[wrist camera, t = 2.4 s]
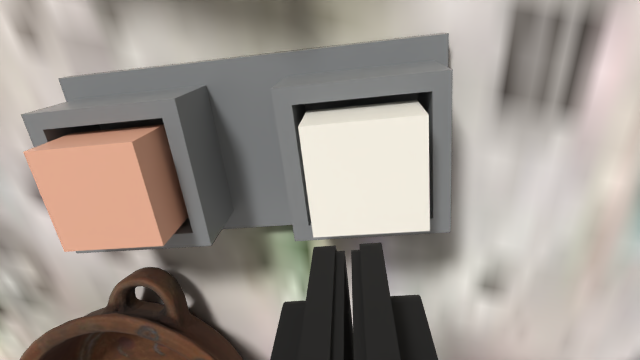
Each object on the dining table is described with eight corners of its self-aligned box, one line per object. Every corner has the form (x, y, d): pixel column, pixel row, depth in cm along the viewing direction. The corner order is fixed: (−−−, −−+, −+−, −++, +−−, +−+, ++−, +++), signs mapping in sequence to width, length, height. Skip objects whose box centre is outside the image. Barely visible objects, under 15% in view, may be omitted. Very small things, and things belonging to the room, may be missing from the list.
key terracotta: (164, 124, 19) (132, 142, 16) (189, 216, 21) (163, 246, 18) (70, 133, 19) (23, 152, 17) (102, 221, 21) (64, 251, 18)
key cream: (416, 99, 17) (428, 114, 15) (419, 200, 19) (429, 230, 16) (306, 110, 18) (298, 126, 15) (319, 207, 20) (313, 237, 17)
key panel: (444, 32, 20) (471, 36, 15) (443, 207, 24) (464, 252, 19) (70, 76, 22) (-4, 90, 18) (122, 228, 26) (72, 272, 21)
